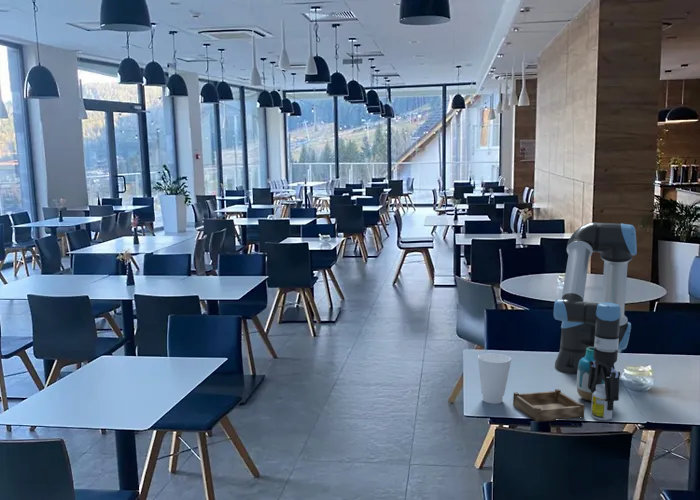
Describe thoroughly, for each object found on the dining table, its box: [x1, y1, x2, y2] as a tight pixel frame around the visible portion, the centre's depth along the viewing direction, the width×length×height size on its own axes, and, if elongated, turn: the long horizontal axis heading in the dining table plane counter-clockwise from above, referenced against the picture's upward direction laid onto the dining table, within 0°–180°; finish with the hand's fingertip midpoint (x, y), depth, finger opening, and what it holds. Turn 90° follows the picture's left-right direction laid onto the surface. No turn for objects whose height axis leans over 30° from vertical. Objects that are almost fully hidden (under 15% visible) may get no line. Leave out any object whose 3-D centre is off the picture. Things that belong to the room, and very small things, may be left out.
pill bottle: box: [591, 384, 610, 421], centre depth 226 cm, size 6×6×11 cm
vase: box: [576, 347, 609, 402], centre depth 243 cm, size 11×11×19 cm
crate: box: [512, 388, 586, 423], centre depth 231 cm, size 18×16×5 cm
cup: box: [477, 352, 512, 405], centre depth 240 cm, size 12×12×16 cm
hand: (601, 414), depth 227 cm, fingers closed on pill bottle, 6 cm apart
